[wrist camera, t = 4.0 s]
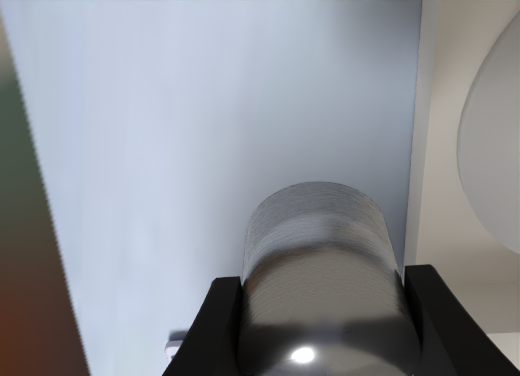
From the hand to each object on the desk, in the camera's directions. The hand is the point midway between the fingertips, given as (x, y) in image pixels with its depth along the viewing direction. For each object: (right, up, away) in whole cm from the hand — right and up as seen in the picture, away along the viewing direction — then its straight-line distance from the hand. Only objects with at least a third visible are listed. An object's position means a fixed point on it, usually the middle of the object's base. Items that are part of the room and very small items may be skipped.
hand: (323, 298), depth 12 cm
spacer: (0, +1, +2) cm, 2 cm away
